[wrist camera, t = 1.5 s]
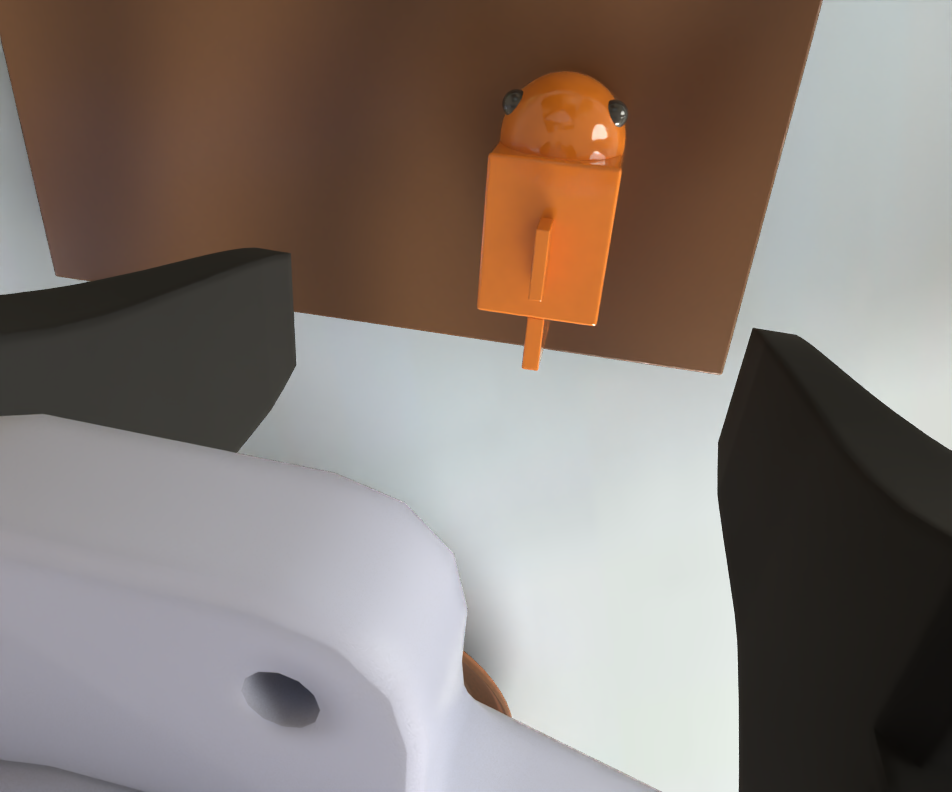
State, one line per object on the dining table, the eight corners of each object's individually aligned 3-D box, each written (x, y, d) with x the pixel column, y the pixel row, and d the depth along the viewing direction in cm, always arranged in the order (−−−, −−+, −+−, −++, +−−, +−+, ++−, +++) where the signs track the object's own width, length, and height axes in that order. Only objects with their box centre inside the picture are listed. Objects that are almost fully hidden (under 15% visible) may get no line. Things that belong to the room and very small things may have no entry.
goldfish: (595, 324, 21) (584, 398, 18) (494, 310, 21) (464, 379, 18) (637, 67, 18) (634, 97, 14) (516, 55, 18) (485, 81, 14)
